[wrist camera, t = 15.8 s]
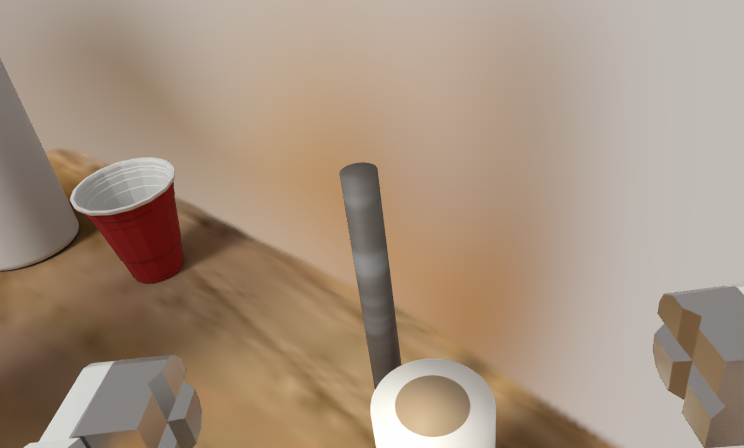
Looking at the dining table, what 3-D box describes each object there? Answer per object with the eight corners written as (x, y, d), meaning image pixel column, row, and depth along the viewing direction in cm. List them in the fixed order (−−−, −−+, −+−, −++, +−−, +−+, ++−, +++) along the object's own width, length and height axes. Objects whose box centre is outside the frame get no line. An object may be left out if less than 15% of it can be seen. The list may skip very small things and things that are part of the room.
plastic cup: (96, 305, 60) (49, 212, 53) (127, 249, 69) (90, 164, 63) (194, 292, 60) (158, 197, 53) (213, 238, 69) (184, 151, 62)
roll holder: (526, 762, 26) (559, 470, 14) (286, 617, 32) (162, 328, 20) (582, 500, 36) (630, 197, 24) (391, 429, 42) (351, 160, 30)
